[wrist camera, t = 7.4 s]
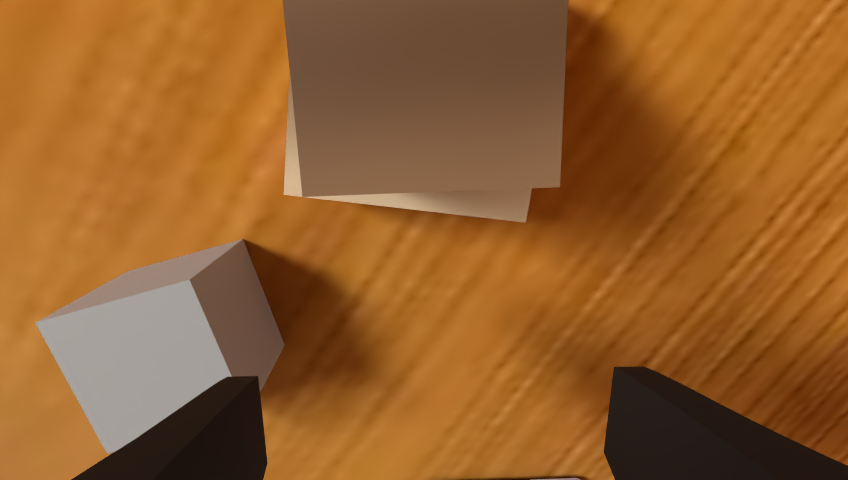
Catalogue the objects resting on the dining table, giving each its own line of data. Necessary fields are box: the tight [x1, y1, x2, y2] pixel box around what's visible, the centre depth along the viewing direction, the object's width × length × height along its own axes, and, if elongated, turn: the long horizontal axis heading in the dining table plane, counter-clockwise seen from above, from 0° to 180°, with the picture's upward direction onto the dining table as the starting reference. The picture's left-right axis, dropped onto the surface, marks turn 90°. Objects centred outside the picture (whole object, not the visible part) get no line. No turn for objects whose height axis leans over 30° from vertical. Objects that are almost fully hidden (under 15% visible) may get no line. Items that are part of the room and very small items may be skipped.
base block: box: [284, 77, 532, 223], centre depth 16 cm, size 8×8×4 cm
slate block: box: [36, 239, 285, 454], centre depth 17 cm, size 5×5×5 cm
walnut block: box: [283, 0, 568, 197], centre depth 11 cm, size 5×5×6 cm
